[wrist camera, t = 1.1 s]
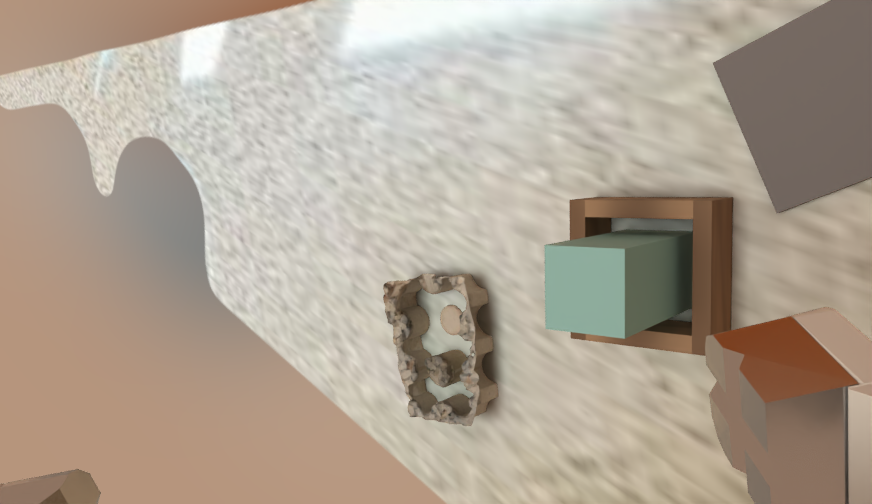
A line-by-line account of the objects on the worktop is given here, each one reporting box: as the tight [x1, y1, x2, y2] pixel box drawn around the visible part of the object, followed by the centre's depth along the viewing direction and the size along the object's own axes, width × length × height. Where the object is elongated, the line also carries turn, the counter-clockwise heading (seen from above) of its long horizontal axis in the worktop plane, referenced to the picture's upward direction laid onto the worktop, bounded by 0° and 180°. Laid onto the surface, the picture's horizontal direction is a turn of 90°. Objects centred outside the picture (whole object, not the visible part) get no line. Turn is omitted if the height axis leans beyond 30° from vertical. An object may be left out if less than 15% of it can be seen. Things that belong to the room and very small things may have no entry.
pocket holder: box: [570, 197, 733, 356], centre depth 44 cm, size 8×8×4 cm
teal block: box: [545, 230, 693, 339], centre depth 42 cm, size 4×4×10 cm
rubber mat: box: [713, 0, 872, 213], centre depth 39 cm, size 9×9×1 cm
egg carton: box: [383, 274, 498, 426], centre depth 55 cm, size 11×8×4 cm
